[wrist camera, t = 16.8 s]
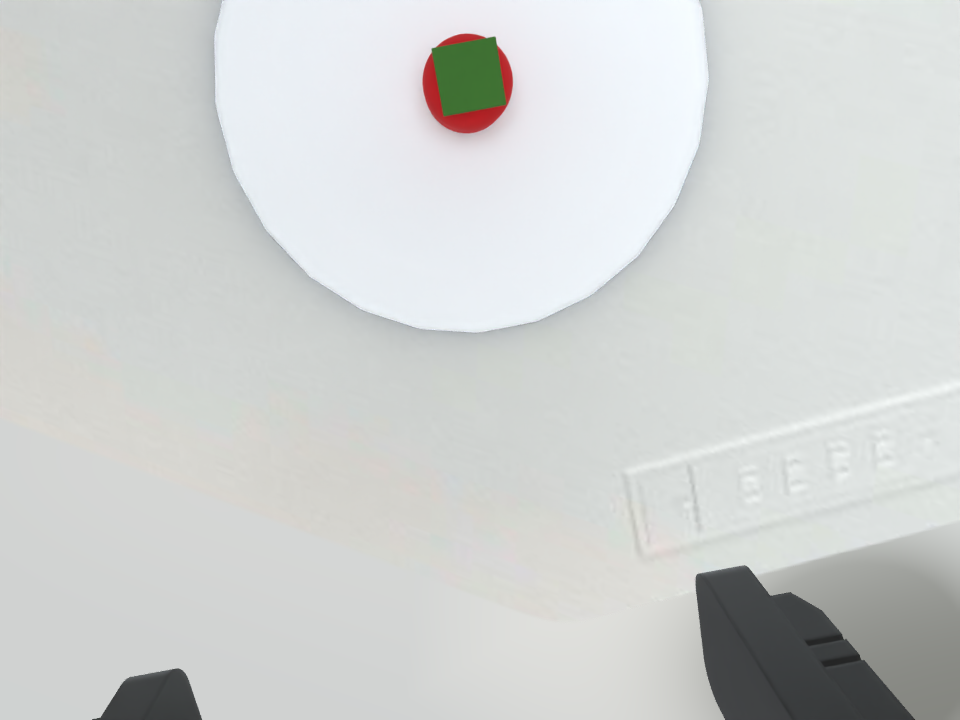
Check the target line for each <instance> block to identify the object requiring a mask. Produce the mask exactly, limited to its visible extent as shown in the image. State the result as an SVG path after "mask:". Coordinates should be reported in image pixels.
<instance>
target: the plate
mask: <svg viewBox="0 0 960 720" xmlns="http://www.w3.org/2000/svg"><path fill="white" fill-rule="evenodd" d="M465 33H467V34H477V35H480V36H483V37H485V38H489V37H494V36H495V37H496V42H497V46H498V47H499V48H500V49H501V50H502V51H503V53H504V54H505V55H506V57H507V59H508V61H509V64H510V66H511V70H512V75H513V89H512V94H511V98H510V101H509V103H508V105H507V107H506V109H505V111H504V112H503V113H502V115H501V116H500V117H499V118H498V119H497V120H496V121H495V122H494V123H493V124H492V125H490V126H489V127H487V128H486V129H484V130H481V131H479V132H475V133H458V132H455V131H452V130H449V129H447V128H446V127H444V126H443V125H441V124H440V123H439V122H438V121H437V120H436V119H435V118H434V116H433V115H432V114H431V112H430V110H429V108H428V106H427V103H426V100H425V96H424V92H423V85H422V79H423V72H424V68H425V64H426V62H427V59H428V58H429V56H430V54H431V53H432V50H431V49H432V48H435V47H437V46H438V45H439V44H440V43H441V42H442V41H444V40H446V39H447V38H449V37H452V36H454V35H458V34H465ZM214 49H215V106H216V109H217V113H218V117H219V121H220V124H221V128H222V132H223V135H224V139H225V143H226V146H227V150H228V154H229V158H230V161H231V165H232V169H233V172H234V174H235V176H236V177H237V179H238V181H239V183H240V185H241V186H242V188H243V190H244V192H245V194H246V195H247V197H248V199H249V201H250V203H251V204H252V206H253V208H254V210H255V212H256V213H257V215H258V217H259V219H260V221H261V222H262V224H263V226H264V228H265V230H266V231H267V232H268V233H269V234H270V235H271V236H272V237H273V238H274V239H275V240H276V241H277V242H278V244H279V245H280V246H281V247H282V248H283V249H284V250H285V251H286V252H287V253H288V254H289V255H290V256H291V257H292V258H293V260H294V261H295V262H296V263H297V264H298V265H299V266H300V267H301V268H302V269H303V270H304V271H305V272H306V273H307V274H308V276H309V277H311V278H312V279H314V280H316V281H317V282H319V283H320V284H322V285H323V286H325V287H327V288H328V289H330V290H331V291H333V292H334V293H336V294H337V295H339V296H341V297H342V298H344V299H345V300H347V301H348V302H350V303H352V304H353V305H355V306H356V307H358V308H359V309H361V310H363V311H366V312H369V313H372V314H375V315H378V316H381V317H384V318H387V319H390V320H393V321H396V322H399V323H403V324H406V325H409V326H412V327H415V328H418V329H427V330H443V331H458V332H474V333H480V332H485V331H490V330H496V329H501V328H506V327H511V326H516V325H521V324H526V323H531V322H537V321H539V320H541V319H543V318H545V317H547V316H549V315H551V314H554V313H556V312H558V311H560V310H562V309H564V308H566V307H568V306H570V305H572V304H574V303H576V302H579V301H581V300H583V299H585V298H587V297H589V296H591V295H592V294H593V293H595V292H596V291H597V290H598V289H599V288H601V287H602V286H603V285H604V284H605V283H607V282H608V281H609V280H610V279H611V278H613V277H614V276H615V275H616V274H617V273H619V272H620V271H621V270H622V269H623V268H624V267H626V266H627V265H628V264H629V263H630V262H632V261H633V260H634V259H635V258H636V257H638V256H639V254H640V253H641V251H642V250H643V249H644V247H645V246H646V244H647V243H648V242H649V240H650V239H651V238H652V236H653V235H654V233H655V232H656V231H657V229H658V228H659V227H660V225H661V224H662V222H663V221H664V220H665V218H666V217H667V215H668V214H669V213H670V211H671V210H672V209H673V207H674V206H675V204H676V201H677V199H678V197H679V194H680V192H681V189H682V187H683V184H684V182H685V179H686V177H687V174H688V172H689V169H690V167H691V164H692V162H693V159H694V157H695V155H696V152H697V150H698V147H699V145H700V138H701V131H702V124H703V117H704V110H705V103H706V96H707V89H708V82H709V72H708V62H707V52H706V42H705V32H704V22H703V12H702V7H701V5H700V2H699V0H223V1H222V5H221V10H220V14H219V18H218V22H217V26H216V30H215V34H214Z"/></svg>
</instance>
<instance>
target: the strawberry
mask: <svg viewBox="0 0 960 720" xmlns="http://www.w3.org/2000/svg"><path fill="white" fill-rule="evenodd" d="M431 50H432V53H431V54H430V56H429V58H428V59H427V62H426V64H425V68H424V72H423V79H422V85H423V92H424V96H425V100H426V103H427V106H428V108H429V110H430V112H431V114H432V115H433V116H434V118H435V119H436V120H437V121H438V122H439V123H440V124H441V125H443V126H444V127H446V128H447V129H449V130H452V131H455V132H458V133H475V132H479V131H481V130H484V129H486V128H487V127H489V126H490V125H492V124H493V123H494V122H495V121H496V120H497V119H498V118H499V117H500V116H501V115H502V113H503V112H504V111H505V109H506V107H507V105H508V103H509V101H510V98H511V94H512V89H513V75H512V70H511V66H510V64H509V61H508V59H507V57H506V55H505V54H504V53H503V51H502V50H501V49H500V48H499V47H498V46H497V42H496V37H495V36H494V37H489V38H485V37H483V36H480V35H477V34H467V33H465V34H458V35H454V36H452V37H449V38H447V39H446V40H444V41H442V42H441V43H440V44H439V45H438V46H437V47H435V48H432V49H431Z"/></svg>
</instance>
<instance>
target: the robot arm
mask: <svg viewBox="0 0 960 720" xmlns="http://www.w3.org/2000/svg"><path fill="white" fill-rule="evenodd" d="M696 594H697V602H698V611H699V619H700V628H701V637H702V646H703V655H704V662H705V667H706V672H707V676H708V679H709V683H710V686H711V689H712V692H713V695H714V697H715V700H716V702H717V704H718V706H719V708H720V710H721V712H722V714H723V716H724V718H725V720H915V719H914V718H913V717H912V716H911V714H910V713H909V712H908V711H907V710H906V709H905V707H904V706H903V705H902V704H901V703H900V702H899V700H898V699H897V698H896V697H895V696H894V695H893V693H892V692H891V691H890V690H889V689H888V688H887V687H886V685H885V684H884V683H883V682H882V681H881V679H880V678H879V677H878V676H877V675H876V674H875V672H874V671H873V670H872V669H871V668H870V666H868V664H867V663H866V662H865V661H864V660H861V658H860V655H859V654H858V652H857V651H856V650H855V649H854V648H853V647H852V645H851V644H850V643H849V642H848V641H847V640H846V639H845V640H844V639H843V637H842V634H841V633H840V631H839V630H838V629H837V628H836V627H835V626H834V624H833V623H832V622H831V621H830V620H829V618H828V617H827V616H826V615H825V614H824V613H823V611H822V610H820V609H818V608H817V607H815V606H813V605H812V604H810V603H808V602H806V601H805V600H803V599H801V598H799V597H798V596H796V595H794V594H792V593H791V592H790V593H784V594H778V595H773V596H770V595H769V594H768V592H767V591H766V590H765V588H764V587H763V586H762V584H761V583H760V582H759V581H758V579H757V578H756V577H755V575H754V574H753V573H752V571H751V570H750V569H749V568H748V567H747V566H745V565H744V566H738V567H733V568H727V569H722V570H716V571H711V572H706V573H700V574H697V576H696ZM92 720H202V718H201V715H200V712H199V709H198V707H197V704H196V701H195V698H194V695H193V692H192V689H191V686H190V683H189V680H188V678H187V676H186V674H185V673H184V672H183V671H182V670H181V669H172V670H167V671H161V672H156V673H150V674H145V675H139V676H134V677H129V678H128V679H126V680H125V681H124V682H123V683H122V685H121V686H120V688H119V689H118V691H117V692H116V694H115V696H114V697H113V699H112V700H111V702H110V704H109V705H108V707H107V708H106V710H105V712H104V713H103V715H102V716H101V718H97V719H92Z"/></svg>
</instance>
